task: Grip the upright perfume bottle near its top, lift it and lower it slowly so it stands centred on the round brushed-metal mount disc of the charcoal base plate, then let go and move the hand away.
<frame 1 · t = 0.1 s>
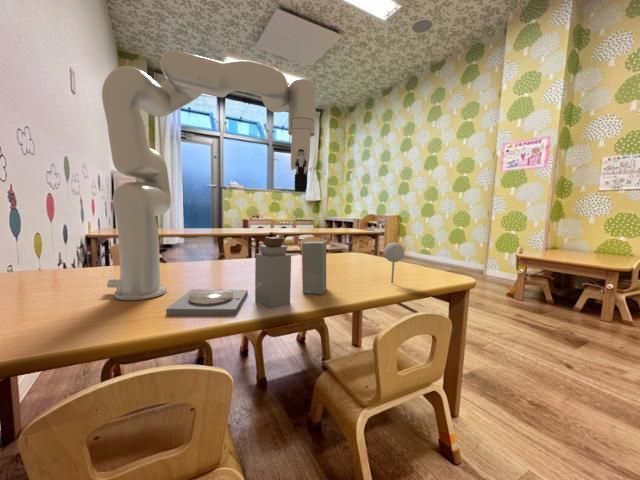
hand: (300, 190, 81), 31 cm above the table, tool pointing down, fingers open, 9 cm apart
lollipop: (392, 283, 102), on the table
skincare box: (313, 291, 90), on the table
mount base: (211, 303, 75), on the table
perfume bottle: (272, 303, 77), on the table
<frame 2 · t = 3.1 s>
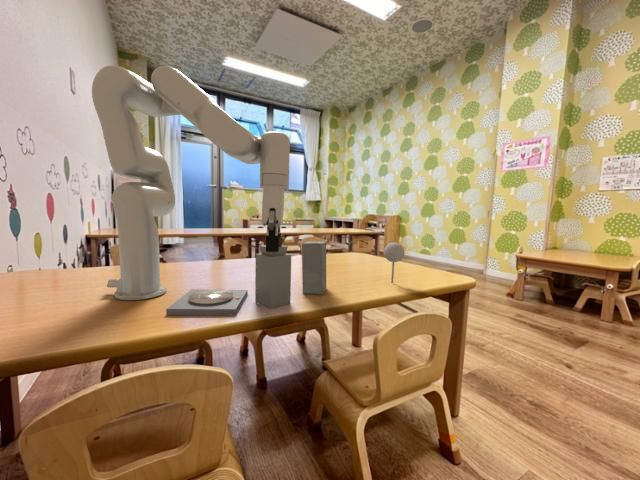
hand: (273, 248, 76), 15 cm above the table, tool pointing down, fingers closed on perfume bottle, 7 cm apart
perfume bottle: (272, 303, 77), on the table, touching gripper
everything else where it was.
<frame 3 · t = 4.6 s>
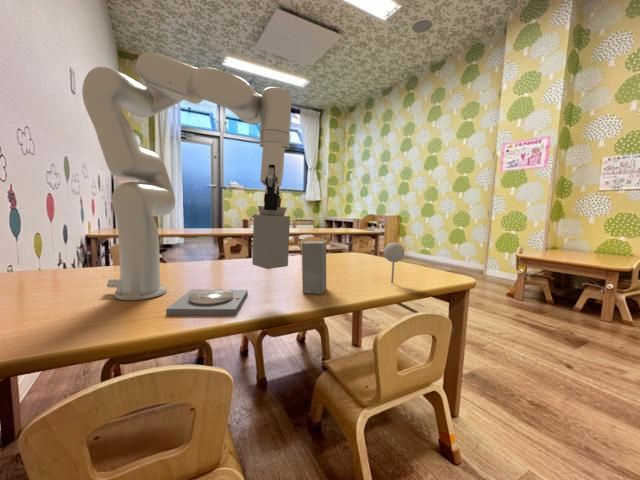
hand: (272, 209, 74), 25 cm above the table, tool pointing down, fingers closed on perfume bottle, 7 cm apart
perfume bottle: (270, 266, 76), point 10 cm above the table, touching gripper
everything else where it was.
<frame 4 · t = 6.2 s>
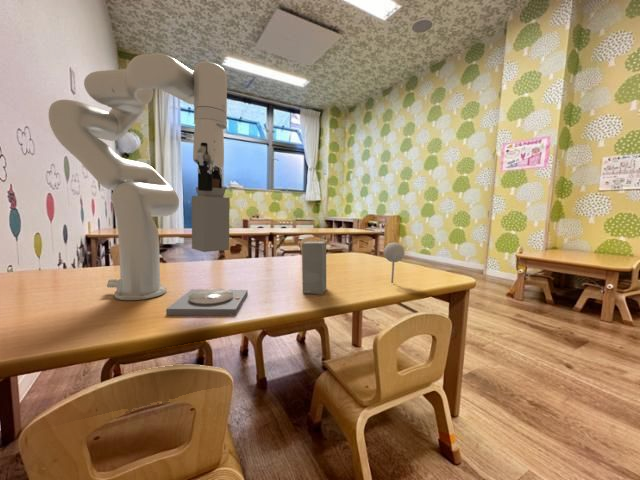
hand: (210, 191, 72), 30 cm above the table, tool pointing down, fingers closed on perfume bottle, 7 cm apart
perfume bottle: (210, 249, 73), point 14 cm above the table, touching gripper
everything else where it was.
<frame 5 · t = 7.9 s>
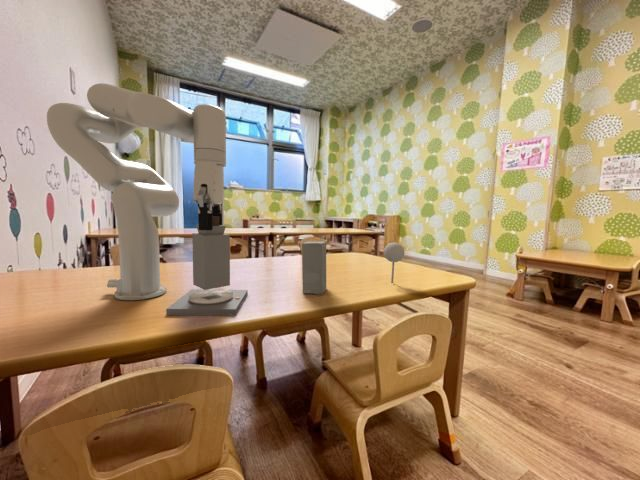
hand: (211, 228, 73), 20 cm above the table, tool pointing down, fingers closed on perfume bottle, 7 cm apart
perfume bottle: (211, 285, 74), point 5 cm above the table, touching gripper
everything else where it was.
when the fingers open (18 cm above the table, at t = 9.4 s): perfume bottle stays where it is, resting on mount base.
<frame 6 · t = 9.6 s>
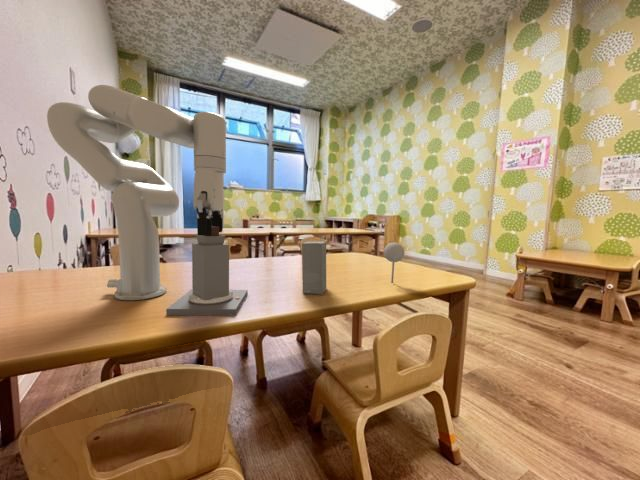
hand: (210, 233, 73), 19 cm above the table, tool pointing down, fingers open, 9 cm apart
perfume bottle: (210, 295, 75), point 2 cm above the table, touching mount base
everything else where it was.
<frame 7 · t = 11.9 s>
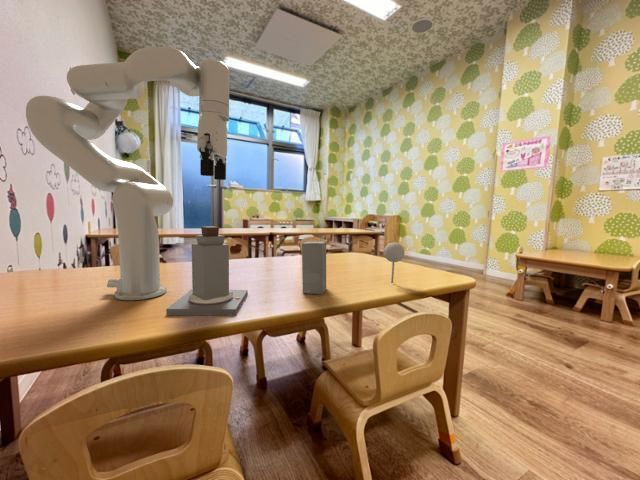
hand: (214, 177, 77), 34 cm above the table, tool pointing down, fingers open, 9 cm apart
nothing on the table moved.
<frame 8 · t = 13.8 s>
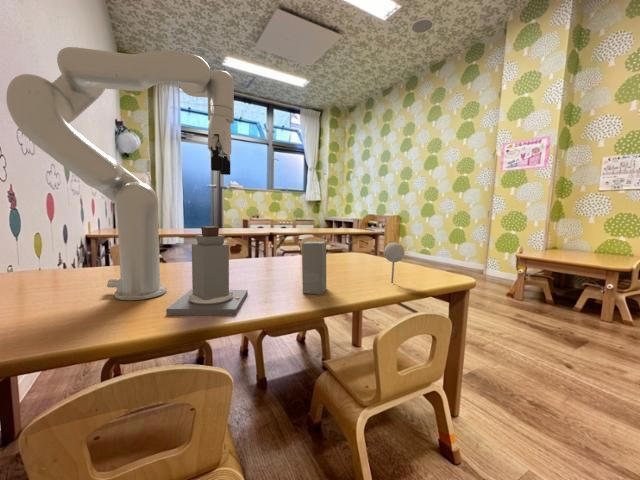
hand: (221, 172, 89), 36 cm above the table, tool pointing down, fingers open, 9 cm apart
nothing on the table moved.
at the end: perfume bottle 0.2 cm off-centre on the mount base, point 2.3 cm above the mount base's base; perfume bottle tilted 0°; the gripper is holding nothing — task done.
